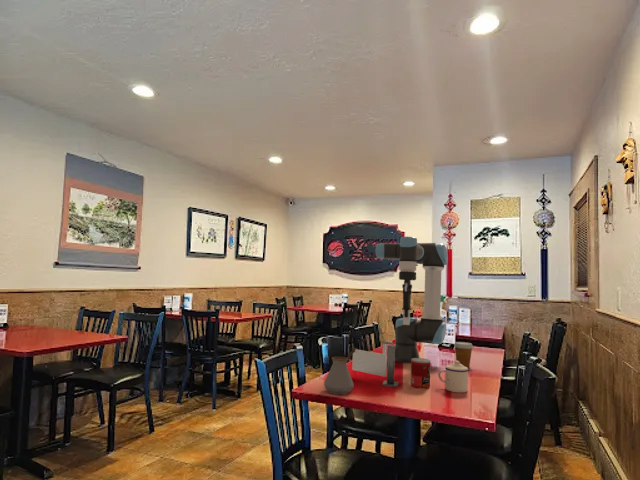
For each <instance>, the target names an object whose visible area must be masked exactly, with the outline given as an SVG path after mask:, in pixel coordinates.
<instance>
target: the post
mask: <svg viewBox="0 0 640 480" xmlns="http://www.w3.org/2000/svg"><path fill="white" fill-rule="evenodd" d="M395 363H396V361H395V345H389V344H387V368H386V380H383V382H382V383H381V386H382V387H393V388H397V387H398V386H399V383H400V382H399V381H395V365H396V364H395Z"/></svg>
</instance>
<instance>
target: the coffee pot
mask: <svg viewBox="0 0 640 480" xmlns="http://www.w3.org/2000/svg"><path fill="white" fill-rule="evenodd" d="M356 349H357V350H359V349H358V348H356V347H354V348H353V349H352V350H351V351H350V352H349V354H348V355H347V357H345V356H332V357H331V360H332V365H331V366H330V369H329V371H328V373H327V376H326V378H325V381H324V383H323V386H324V388H325V390H327V391H328V393H329V394H332V395H339V394H342V395H347V394H349V393H350V392H351V391H352V390H353V388H354V385H355V384H354V382H353V379H352V376H351V372H350V371H349V368H348V365H347V362H348V361H349V359H350V358H351V357H353V353H354V352H355V350H356Z"/></svg>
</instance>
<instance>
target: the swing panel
mask: <svg viewBox="0 0 640 480" xmlns="http://www.w3.org/2000/svg"><path fill="white" fill-rule="evenodd" d="M388 345H392V346H394V345H395V342H393V341H385V340H384V341H382V353H380V352H374V351H367V350H362V349H358V348H356V350H355V352H354V353H353V355H352V366H351V369H352V371H356V372H361V373H366V374H370V375H374V376H375V375H376V376H380V377H384V378H385V377H387V358H388ZM357 349H358V350H357Z"/></svg>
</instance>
